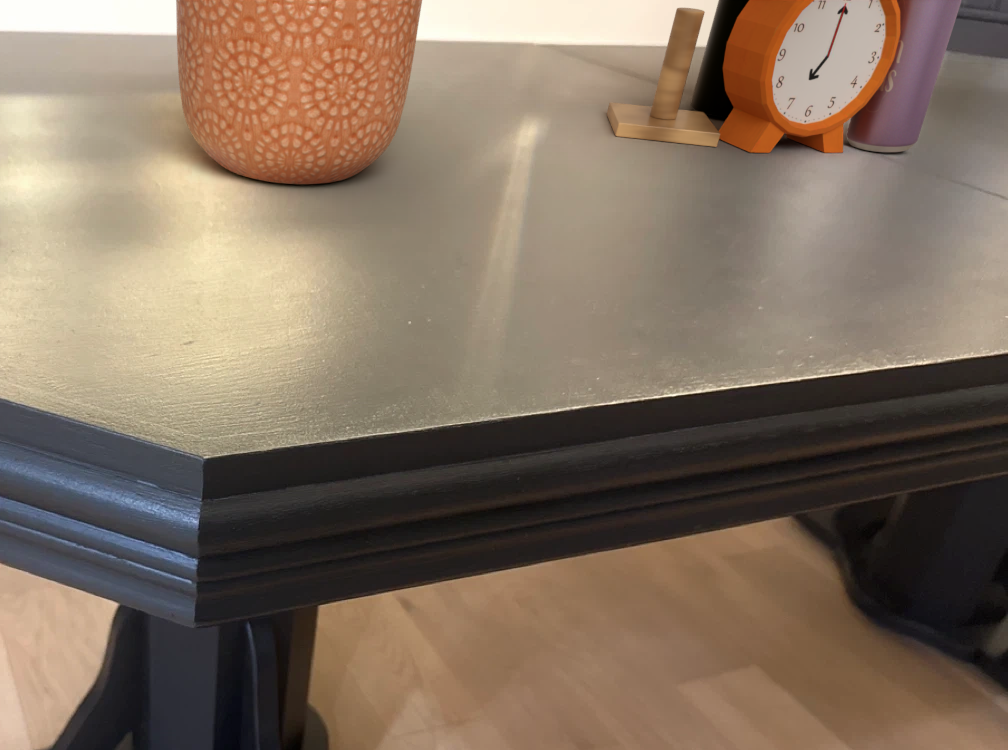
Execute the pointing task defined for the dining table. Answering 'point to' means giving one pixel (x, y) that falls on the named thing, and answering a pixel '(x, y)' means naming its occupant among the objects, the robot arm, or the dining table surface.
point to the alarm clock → (805, 69)
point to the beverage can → (906, 79)
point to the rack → (669, 95)
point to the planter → (295, 83)
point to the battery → (716, 62)
